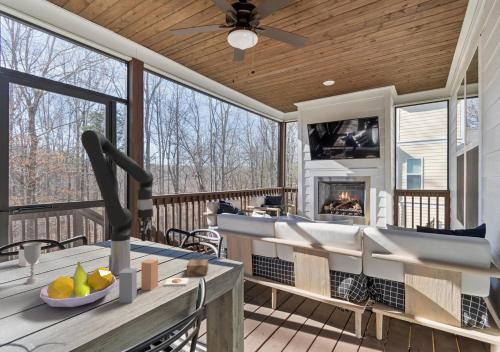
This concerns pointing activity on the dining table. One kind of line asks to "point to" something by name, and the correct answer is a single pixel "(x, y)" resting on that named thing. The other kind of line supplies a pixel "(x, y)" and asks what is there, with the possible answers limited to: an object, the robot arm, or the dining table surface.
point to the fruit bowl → (78, 288)
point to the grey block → (127, 285)
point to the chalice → (32, 258)
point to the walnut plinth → (197, 267)
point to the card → (176, 282)
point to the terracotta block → (149, 274)
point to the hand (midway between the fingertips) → (146, 239)
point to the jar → (21, 256)
